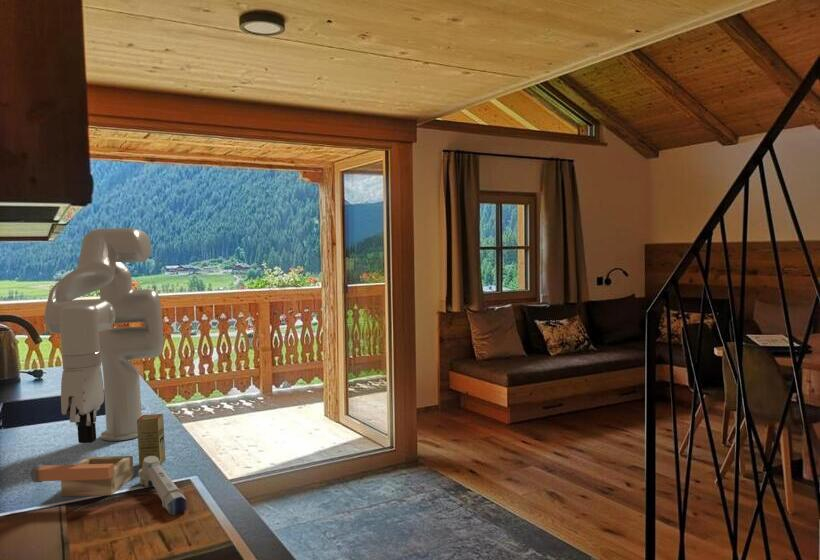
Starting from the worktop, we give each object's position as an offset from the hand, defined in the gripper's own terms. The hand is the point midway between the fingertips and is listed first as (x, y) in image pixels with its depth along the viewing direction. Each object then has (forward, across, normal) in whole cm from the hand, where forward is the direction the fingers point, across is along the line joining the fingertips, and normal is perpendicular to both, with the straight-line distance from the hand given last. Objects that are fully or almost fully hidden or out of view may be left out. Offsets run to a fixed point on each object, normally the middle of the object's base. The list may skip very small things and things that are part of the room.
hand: (87, 441), depth 139 cm
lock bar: (+7, +6, 0) cm, 9 cm away
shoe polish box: (+12, -17, +7) cm, 22 cm away
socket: (+12, -3, 0) cm, 12 cm away
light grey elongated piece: (+12, +4, +18) cm, 21 cm away
